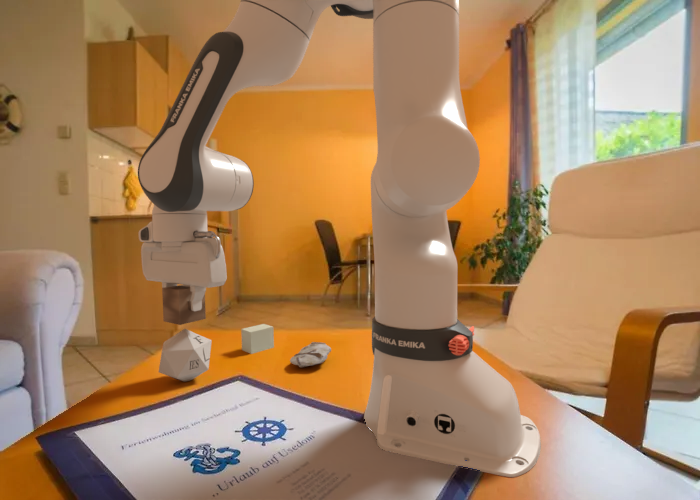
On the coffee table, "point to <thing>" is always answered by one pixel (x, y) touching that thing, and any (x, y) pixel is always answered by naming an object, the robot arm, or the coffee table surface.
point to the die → (185, 355)
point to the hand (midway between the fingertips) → (184, 308)
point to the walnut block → (180, 305)
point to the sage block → (257, 338)
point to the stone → (311, 354)
